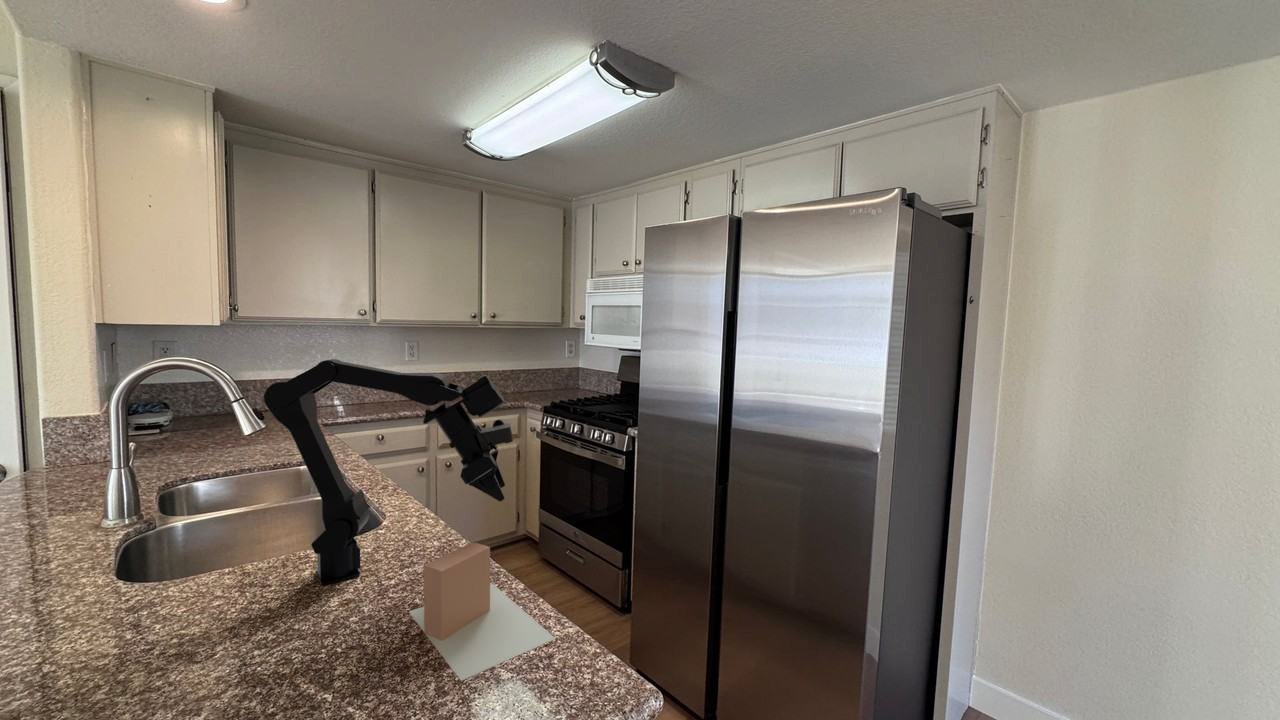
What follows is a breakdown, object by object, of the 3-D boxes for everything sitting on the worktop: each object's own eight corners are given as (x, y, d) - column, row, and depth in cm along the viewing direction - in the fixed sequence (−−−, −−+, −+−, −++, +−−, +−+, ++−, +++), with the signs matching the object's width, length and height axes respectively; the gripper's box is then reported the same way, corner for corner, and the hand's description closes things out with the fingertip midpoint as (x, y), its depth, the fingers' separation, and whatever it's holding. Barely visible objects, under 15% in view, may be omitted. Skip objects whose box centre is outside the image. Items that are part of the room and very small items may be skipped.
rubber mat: (461, 684, 71) (461, 680, 71) (408, 614, 87) (408, 611, 87) (555, 641, 81) (555, 638, 80) (492, 586, 97) (492, 583, 97)
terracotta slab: (424, 633, 81) (423, 565, 80) (473, 603, 90) (472, 541, 89) (442, 641, 79) (441, 571, 78) (490, 610, 88) (490, 547, 87)
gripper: (494, 414, 96) (539, 483, 98) (497, 402, 114) (535, 460, 116) (440, 448, 94) (487, 517, 96) (451, 429, 112) (491, 488, 114)
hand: (502, 493), depth 106 cm, fingers open, 9 cm apart
